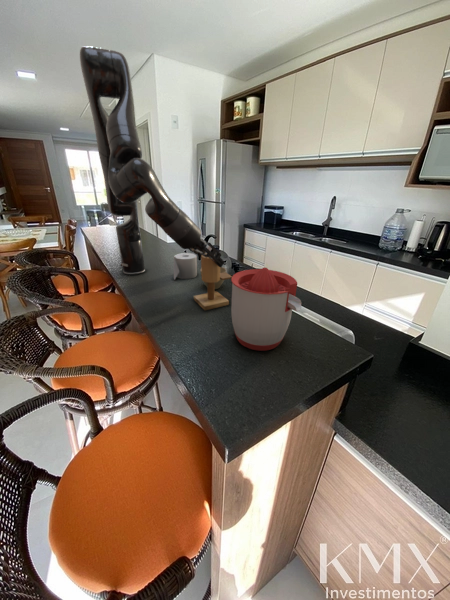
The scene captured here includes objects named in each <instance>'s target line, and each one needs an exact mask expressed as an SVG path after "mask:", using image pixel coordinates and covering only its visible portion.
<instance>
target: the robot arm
mask: <svg viewBox="0 0 450 600" xmlns="http://www.w3.org/2000/svg"><path fill="white" fill-rule="evenodd" d="M79 62H80V69H81V74H82V78H83V83H84V87H85V91H86V95H87V99H88V103H89V107H90V111H91V116H92V119H93V120H92V121H93V125H94V127H93V128H94V131H95V132H94V133H95V139H96V145H97V151H98V156H99V160H100V164H101V170H102V174H103V179H104V187H105V194H106V195H105V196H106V202H107V207H108V211H109V213H110V214H111V215H112V216H115V217H127V216H128V217H129V218H128V220H126V221H124V222H121V223H120V224H118V225H116V227H115V231H116V237H117V243H118V248H119V255H120V266H121V267H122V273H123V274H124V275H128V276H136V275H141V274H143V273H145V272H146V267H145V260H144V258H145V257H144V251H143V245H142V244H143V243H142V236H141V235H142V234H141V229H140V223H139V221H140V220H139V211H138V210H139V209H138V200H140V198H142V197H144V196H145V195H146V194H149V196H150V199H149V200H148V201H147V202H146V205H145V209H144V211H145V214H146V215H147V216H148V217H149V219H151V220H152V221H153V222H154V223H155V224H156V225H157V226H159V228H161V229H162V230H163V232H164V233H165V234H166V236H168V237H169V238H170V239H171V240H172V241H174V243H175V244H177V245H178V246H179V247H180V248H181V249H183V250H189V251H190V253H193V254H195V255H197V256H198V257H199V258H200V259H201V255H203V256H204V257H206V258H207V257H208V258H210V259H211V260H212V261H214V262H215V263H216V264H217V265H218V266H219V267H224V264H225V260H224V259H222V253H221V252H220V251H219V250H218V249H217V248H216V247H215V245H213V244H212V242H207V241H206V240H204V238H201V237H202V230H201V229H200V228H199V226H198V225H197V224H196V223H195V222H194V221H193V220H192V219H191V218H190V217H189V215H187V214H186V212H184V211H183V210H182V209H181V208H180V207H179V206H178V205H177V204H176V203H175V202H174V201H173V200H172V199H171V198H170V196H169V195H168V193H167V191H166V190H165V189H164V187H163V185H162V184H161V182H160V180H159V178H158V175H157V174H156V172H155V170H154V169H153V167H152V165H150V164H149V162H148V161H146V160H144V159H143V150H142V146H141V142H140V137H139V133H138V129H137V123H136V110H135V100H134V91H133V83H132V76H131V71H130V67H129V63H128V61H127V59H126V57H125V55H124V54H123V53H121V52H119V51H116V50H112V49H105V48H102V47H100V48H99V47H95V46H90V45H89V46H88V45H84V46H81V47H80V49H79ZM102 98H103V99H104V98H105V99H113V100H117V103H116V104H115V106H114V107H113V108H112V110H111V112H110V113H109V112H108V111H107V109H106V107H105V105H104V103H103V100H102ZM206 253H207V254H206Z"/></svg>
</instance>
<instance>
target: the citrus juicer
mask: <svg viewBox="0 0 450 600" xmlns="http://www.w3.org/2000/svg"><path fill="white" fill-rule="evenodd" d="M231 276H232V279H230V281H231V283H232V284H231V309H230V311H231V312H230V313H231V323H232V327H233V332H234V336H235V337H236V340H237V341H238V342H239V344H240V345H241V346H243V347H245V348H247V349H249V350H254V351H259V352H260V351H261V352H262V351H263V352H264V351H265V352H266V351H269V350H273V349H275V348H277V347H278V346H279V345H280V344H281V342H282V341H283V339H284V338H285V335H286V333H287V331H288V329H289V326H290V323H291V319H292V313H293V311H295V312H299V311H301V309H302V300H301V299H300V298H299V297H297V296H296V295H297V288H298V281H297V279H295V277H293V276H291V275H289V274H288V273H285V272H281V271H278V270H273V269H269V268H268V267H263V268H255V269H253V268H252V269H245V270H240V271H238V272H235V273H234V274H233V275H231Z"/></svg>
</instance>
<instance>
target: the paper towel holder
mask: <svg viewBox="0 0 450 600" xmlns="http://www.w3.org/2000/svg"><path fill="white" fill-rule="evenodd" d="M206 288H207V289H206V291H207V292H206V293H205V292H204V293H201V294H195V295H193V300H194V302H196V304H198V306H199V307H200V308H202V309H203V310H204V311H209V310H213V309H217V308H222V307H225V306H229V305H230V301H229V299H227V298H226V297H225V296H223V295H222V294H221V293H220V292H218V291H215V290H216V289H215V282H214V283H207V286H206Z"/></svg>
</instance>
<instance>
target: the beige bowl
mask: <svg viewBox="0 0 450 600" xmlns="http://www.w3.org/2000/svg"><path fill="white" fill-rule="evenodd" d="M224 272H226V273H227V272H228V271H227V268H226V267H224V266H222V267H220V273H224ZM200 275H201V277H202V273H201V268H200ZM224 281H225V280H221V279H220V281H218V282H215V290H218V289H219V288H220V287H221V286H222V285H223V283H224ZM203 284H204V285H205V286H206V287H207V282H204V281H203Z"/></svg>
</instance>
